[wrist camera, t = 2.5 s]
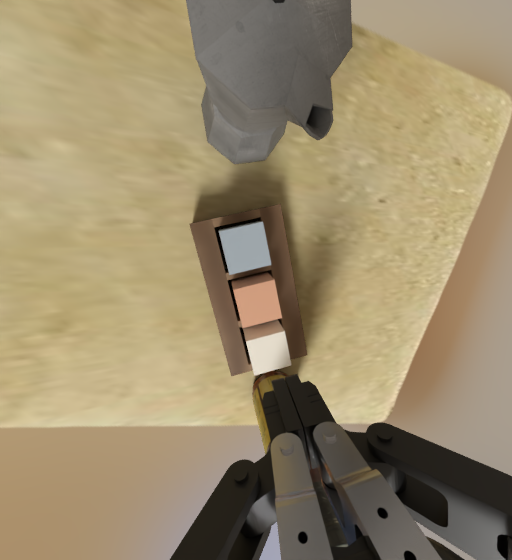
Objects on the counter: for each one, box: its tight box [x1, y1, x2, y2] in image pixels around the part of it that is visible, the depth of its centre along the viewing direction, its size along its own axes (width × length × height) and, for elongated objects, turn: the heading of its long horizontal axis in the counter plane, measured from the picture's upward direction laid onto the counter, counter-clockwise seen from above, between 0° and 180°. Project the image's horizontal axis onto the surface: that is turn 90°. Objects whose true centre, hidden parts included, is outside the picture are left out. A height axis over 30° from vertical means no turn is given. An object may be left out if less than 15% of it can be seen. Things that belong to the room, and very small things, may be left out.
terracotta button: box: [231, 272, 282, 328], centre depth 28 cm, size 4×4×4 cm
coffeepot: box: [186, 0, 352, 164], centre depth 18 cm, size 15×9×18 cm, turn 30°
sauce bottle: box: [253, 371, 348, 547], centre depth 26 cm, size 6×6×20 cm
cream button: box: [243, 319, 291, 376], centre depth 30 cm, size 4×4×4 cm
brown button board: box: [190, 204, 307, 376], centre depth 31 cm, size 10×19×3 cm, turn 12°
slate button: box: [219, 221, 271, 275], centre depth 27 cm, size 4×4×4 cm
